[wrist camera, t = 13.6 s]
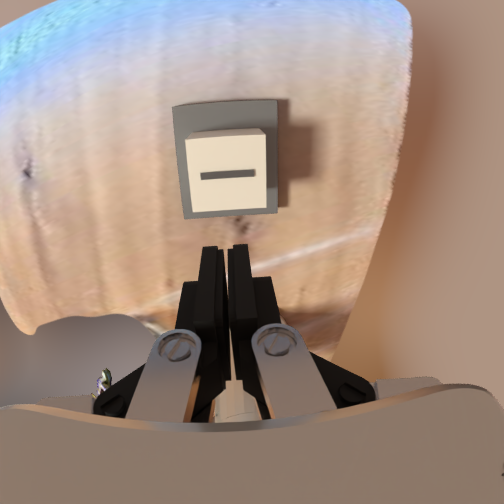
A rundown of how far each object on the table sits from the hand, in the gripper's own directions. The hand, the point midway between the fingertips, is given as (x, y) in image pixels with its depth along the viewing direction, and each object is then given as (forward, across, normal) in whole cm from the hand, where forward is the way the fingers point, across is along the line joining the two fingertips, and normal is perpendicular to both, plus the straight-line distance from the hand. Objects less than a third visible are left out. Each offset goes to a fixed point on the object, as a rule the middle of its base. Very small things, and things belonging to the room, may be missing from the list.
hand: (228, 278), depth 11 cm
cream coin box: (+19, 0, 0) cm, 19 cm away
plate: (+20, 0, 0) cm, 20 cm away
